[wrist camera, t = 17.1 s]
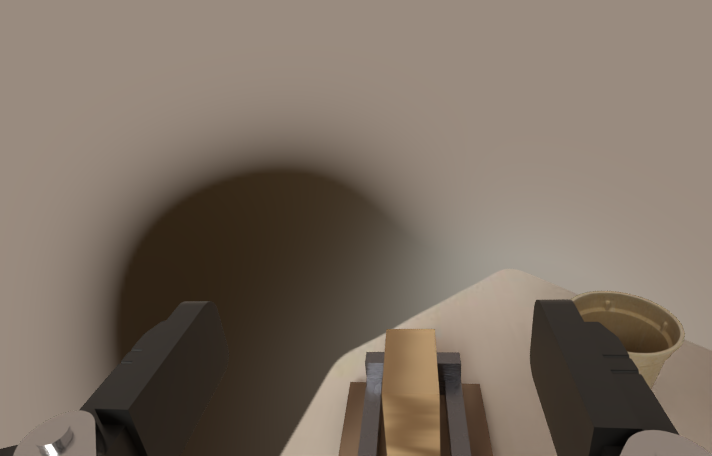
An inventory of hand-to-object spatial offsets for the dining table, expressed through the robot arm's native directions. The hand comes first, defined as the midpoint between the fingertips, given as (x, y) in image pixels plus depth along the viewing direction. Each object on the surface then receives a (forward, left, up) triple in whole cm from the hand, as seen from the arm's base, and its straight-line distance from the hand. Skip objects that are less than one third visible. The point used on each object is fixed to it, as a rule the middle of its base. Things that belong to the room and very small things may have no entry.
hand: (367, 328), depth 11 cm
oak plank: (0, -18, -27) cm, 32 cm away
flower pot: (-19, -26, -28) cm, 43 cm away
